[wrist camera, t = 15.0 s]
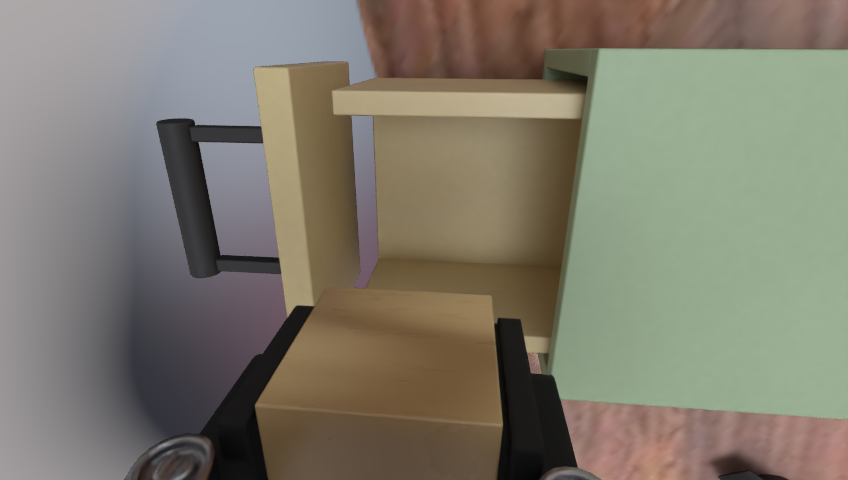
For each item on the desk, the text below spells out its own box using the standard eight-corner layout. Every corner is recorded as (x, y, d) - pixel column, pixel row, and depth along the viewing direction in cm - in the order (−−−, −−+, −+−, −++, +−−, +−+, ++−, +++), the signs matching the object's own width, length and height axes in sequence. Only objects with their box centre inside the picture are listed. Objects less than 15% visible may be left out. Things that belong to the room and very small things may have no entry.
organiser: (521, 281, 26) (547, 399, 17) (545, 49, 21) (598, 47, 12) (804, 295, 25) (987, 430, 16) (900, 50, 20) (1242, 51, 11)
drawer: (246, 266, 26) (164, 346, 19) (211, 60, 22) (87, 65, 15) (595, 283, 25) (646, 378, 18) (634, 63, 20) (723, 71, 13)
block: (337, 411, 12) (281, 561, 9) (326, 285, 11) (253, 405, 7) (481, 422, 12) (486, 584, 8) (491, 294, 10) (503, 425, 7)
